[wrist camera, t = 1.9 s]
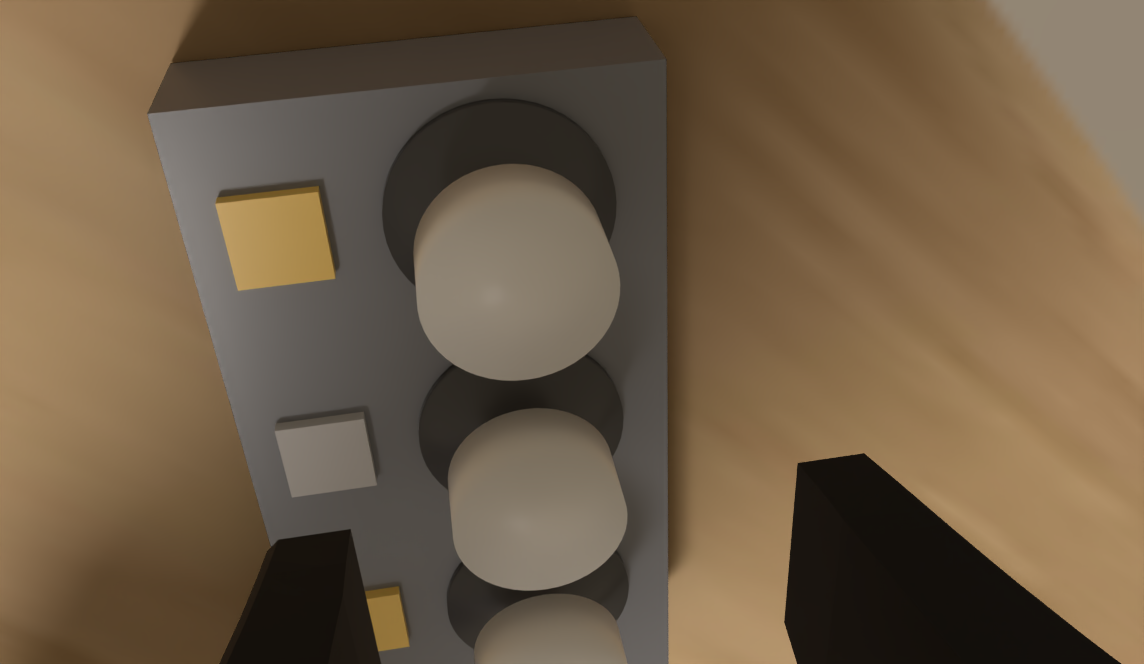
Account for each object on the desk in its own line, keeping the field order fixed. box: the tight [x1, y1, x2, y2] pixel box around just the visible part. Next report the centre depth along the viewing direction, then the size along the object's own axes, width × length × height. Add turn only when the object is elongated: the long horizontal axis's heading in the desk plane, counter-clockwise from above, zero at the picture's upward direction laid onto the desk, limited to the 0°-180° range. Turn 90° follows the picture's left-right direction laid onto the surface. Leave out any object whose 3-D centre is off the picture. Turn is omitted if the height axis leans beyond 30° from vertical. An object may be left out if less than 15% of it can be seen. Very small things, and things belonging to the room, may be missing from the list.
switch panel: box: [147, 16, 668, 664], centre depth 19 cm, size 7×13×2 cm, turn 3°
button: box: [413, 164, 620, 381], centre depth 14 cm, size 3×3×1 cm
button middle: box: [448, 408, 628, 591], centre depth 16 cm, size 3×3×1 cm
